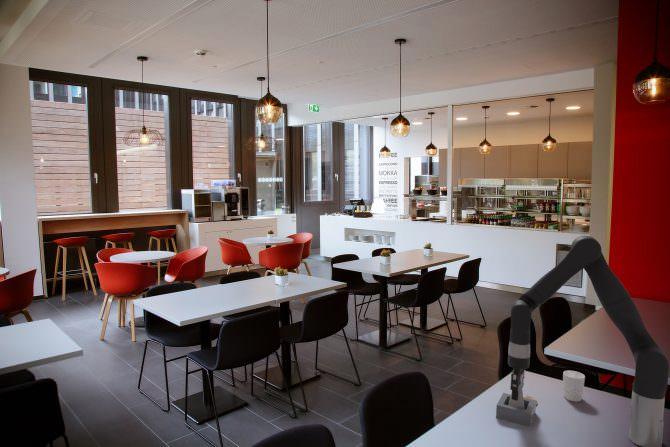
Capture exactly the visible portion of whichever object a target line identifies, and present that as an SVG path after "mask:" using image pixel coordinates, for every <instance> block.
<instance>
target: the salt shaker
mask: <svg viewBox="0 0 670 447" xmlns="http://www.w3.org/2000/svg"><path fill="white" fill-rule="evenodd" d="M523 380H524V379H523ZM523 380H522V382H521V385H520V386H519V392H518V400H517V401H516V400H512V392H511V393H510V394H511V397H510V400H509V404H508V406H512V407H516V408H520V409H524V410H525V406H524V398H523V395H524V393H523V391H524V390H523V388H524V385H525V383H524V381H523ZM514 387H516V385H515V384H514Z"/></svg>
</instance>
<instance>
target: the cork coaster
mask: <svg viewBox="0 0 670 447" xmlns="http://www.w3.org/2000/svg"><path fill="white" fill-rule="evenodd" d="M523 398H528V399H532V400H536V406H537V405H538V400H537V399H536V398H534V397H533V396H529V395H525V394H523Z"/></svg>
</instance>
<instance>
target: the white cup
mask: <svg viewBox="0 0 670 447" xmlns="http://www.w3.org/2000/svg"><path fill="white" fill-rule="evenodd" d="M562 373H563V374H562V386H563V387H562V389H563V390H562V391H563V398H564V399H566V400H568V401H571V402H576V403H577V402H581V401H582V400H583V395H584V394H583V393H584V387H585V380H586V376H585V374H583V373H581V372H579V371H575V370H564V371H563V372H562Z"/></svg>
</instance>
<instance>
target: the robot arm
mask: <svg viewBox="0 0 670 447" xmlns="http://www.w3.org/2000/svg"><path fill="white" fill-rule="evenodd" d="M583 269H584V271H585V273H586V274H587V275H588V276H587V277H588V278H589V279H590V282H591V284H592V287H593V289H594V292H595V293H596V296H597V298H598V301H599V302H600V305H601V306H602V307H603V309H604V312H605V313H606V314H607V317H608V318H609V319H610V320H611V321H612V323H613V324H614V325H615V327H616V328H617V329H618V330H619V332H620V333H621V335H622V336H623V337H624V339H625V341H626V343H627V344H628V347H629V350H630V351H631V354H632V357H633V360H634V362H635V370H634V379H633V382H632V391H631V403H630V404H631V405H630V417H629V429H628V439H629V441H631V442H632V443H633V444H635V445H637V446H639V447H662V444H663V437H664V436H663V433H664V424H665V423H664V412H665V401H666V400H665V399H666V392H667V390H668V385H669V384H668V382H669V374H670V363H669V360H668V358H667V356H666V354H665V352H664V351H663V350H662V349H661V347H660V346H659V345H658V344H657V342H656V341H655V340H654V338H653V337H652V335H651V334H650V333H649V331H648V330H647V328H646V326H645V324H644V320H643V319H642V316H641V314H640V312H639V309H638V307H637V305H636V304H635V302H634V300H633V298H632V297H631V294H629V292H628V290H627V288H625V287H626V286H625V285H624V284H623V283H622V282H621V281H620V279H619V278H618V277H617V275H616V274H615V273H614V271H613V270H612V269H611V267H610V266H609V264H608V263H607V261H606V258H605V255H604V254H603V252H602V246H601V244H600V242H599V241H598V240H597V239H596V238H595V237H593V236H591V235H590V236H589V235H580V236H577V237H576V238H574V240H573V241H572V243H571V245H570V250H569V251H568V253H567V254H566V255H565V257H563V259H562V260H561V261H560V262H559V263H558V264H557V265H555V266H554V267H552V268H551V270H549V271H548V272H546V273H545V274H544V275H543V276H541V277H540V278H539V279H538V280H537V281H536V282H535V283H534V284H533V285H532V286H531V287H530V288H529V289H528V290H527V291H526V292H524V293H523V294H522V295H520V296H519V297H518V298H517V299H515V301H513V303H512V304H511V308H510V330H509V333H510V334H509V343H508V354H507V364H508V366H509V367H510V368H513V369H512V370H511V374H510V386H509V387H510V389H509V390H511V393H512V400H516V401H517V400H518V392H519V386H520V385H521V382H522V380H523V382H524V381H525V378H526V376H525V373H526V372H525V370H527V369H529V368H530V362H531V361H530V360H531V359H530V358H531V323H532V314H533V312H534V311H535V310H536V309H537V308H538V307H539V306H541V305H543V304H545V303H546V302H547V301H549V300H550V298H552V297H553V296H554V295H555V294H556V293H557V292H558V291H559V290H560V289H561V288H562V287H563V286H564V285H566V283H568V281H569V280H570V279H572V278H573V277H574V276H575V275H576V274H577V273H579V272H581V271H582V270H583ZM514 384H515V385H516V387H514Z"/></svg>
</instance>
